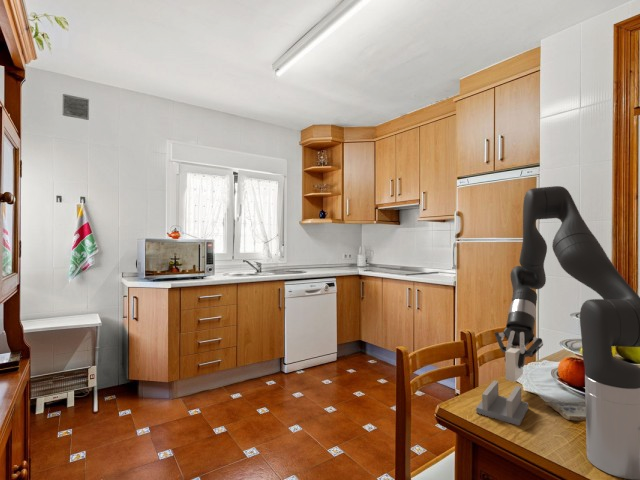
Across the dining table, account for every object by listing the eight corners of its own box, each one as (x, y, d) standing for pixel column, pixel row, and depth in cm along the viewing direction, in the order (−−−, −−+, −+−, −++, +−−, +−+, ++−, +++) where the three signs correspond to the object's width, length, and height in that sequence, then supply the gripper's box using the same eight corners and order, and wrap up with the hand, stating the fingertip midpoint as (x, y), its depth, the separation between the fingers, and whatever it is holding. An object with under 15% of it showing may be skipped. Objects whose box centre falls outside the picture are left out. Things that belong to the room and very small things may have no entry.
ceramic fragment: (562, 416, 87) (543, 393, 97) (562, 428, 87) (542, 403, 97) (610, 418, 85) (586, 395, 95) (609, 430, 86) (585, 405, 95)
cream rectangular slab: (522, 374, 106) (522, 347, 107) (515, 381, 99) (515, 353, 99) (513, 372, 108) (513, 345, 108) (505, 379, 100) (505, 351, 101)
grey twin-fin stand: (528, 408, 94) (527, 388, 94) (519, 425, 85) (518, 403, 85) (488, 398, 100) (487, 379, 100) (476, 413, 92) (475, 392, 92)
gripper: (495, 307, 115) (485, 354, 105) (545, 312, 106) (539, 364, 96) (500, 320, 119) (491, 367, 109) (548, 326, 110) (543, 377, 100)
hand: (513, 365), depth 103 cm, fingers closed on cream rectangular slab, 2 cm apart
